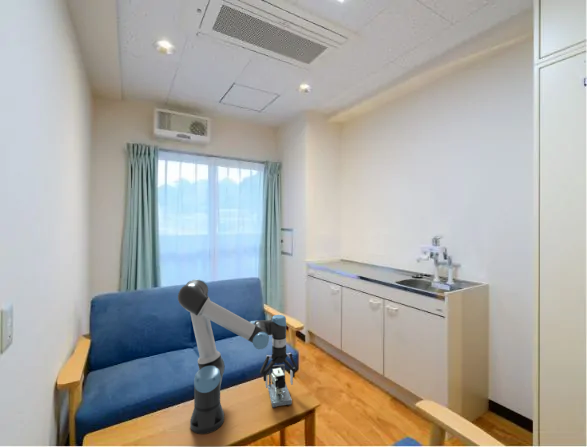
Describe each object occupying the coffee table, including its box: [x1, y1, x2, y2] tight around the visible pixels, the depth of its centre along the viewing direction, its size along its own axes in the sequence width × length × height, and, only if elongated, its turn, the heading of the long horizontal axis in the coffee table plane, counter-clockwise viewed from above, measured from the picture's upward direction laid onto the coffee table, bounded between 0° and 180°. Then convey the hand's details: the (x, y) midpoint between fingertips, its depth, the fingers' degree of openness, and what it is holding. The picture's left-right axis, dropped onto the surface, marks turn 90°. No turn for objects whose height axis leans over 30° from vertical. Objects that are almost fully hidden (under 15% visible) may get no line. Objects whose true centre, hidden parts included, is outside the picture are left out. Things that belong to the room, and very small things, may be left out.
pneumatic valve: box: [271, 367, 287, 395], centre depth 146 cm, size 6×12×12 cm, turn 19°
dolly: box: [267, 363, 293, 409], centre depth 147 cm, size 10×16×14 cm, turn 13°
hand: (279, 384), depth 147 cm, fingers open, 13 cm apart
